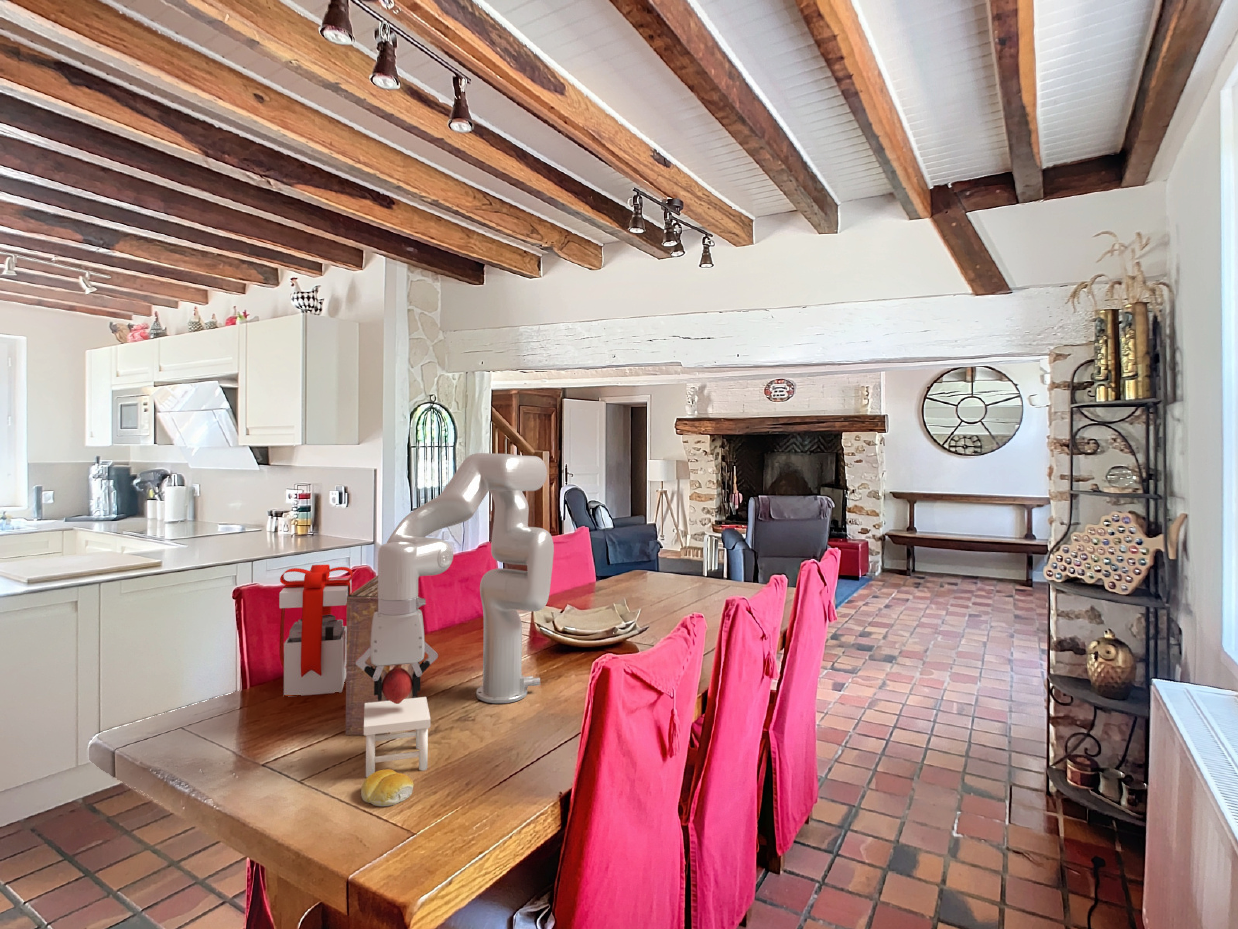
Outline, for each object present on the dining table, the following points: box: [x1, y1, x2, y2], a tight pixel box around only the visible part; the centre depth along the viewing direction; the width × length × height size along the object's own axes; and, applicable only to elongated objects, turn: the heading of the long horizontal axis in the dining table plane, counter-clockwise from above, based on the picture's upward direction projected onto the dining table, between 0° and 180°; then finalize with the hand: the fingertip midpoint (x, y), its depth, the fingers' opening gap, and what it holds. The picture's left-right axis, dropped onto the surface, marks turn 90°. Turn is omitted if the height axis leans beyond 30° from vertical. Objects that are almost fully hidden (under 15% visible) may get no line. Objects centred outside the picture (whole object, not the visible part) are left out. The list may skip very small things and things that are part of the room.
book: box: [345, 574, 414, 736], centre depth 158 cm, size 25×9×30 cm, turn 4°
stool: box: [363, 696, 431, 778], centre depth 135 cm, size 12×12×10 cm
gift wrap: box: [278, 564, 354, 696], centre depth 174 cm, size 17×17×30 cm
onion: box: [382, 665, 413, 704], centre depth 134 cm, size 6×6×8 cm
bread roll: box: [360, 768, 414, 807], centre depth 122 cm, size 8×9×4 cm
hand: (397, 695), depth 135 cm, fingers closed on onion, 5 cm apart
